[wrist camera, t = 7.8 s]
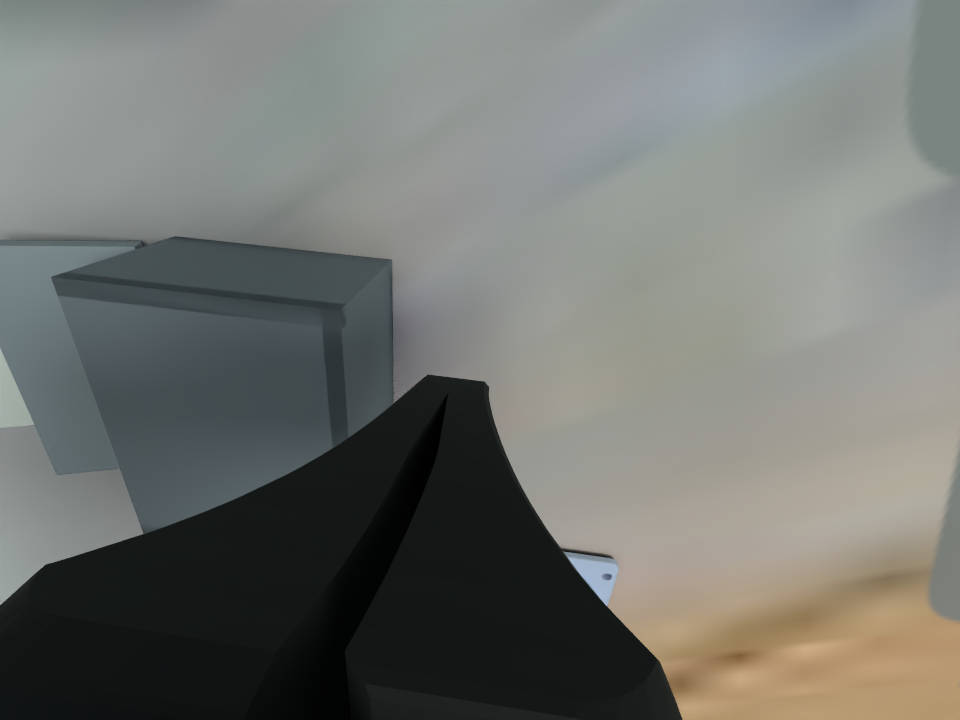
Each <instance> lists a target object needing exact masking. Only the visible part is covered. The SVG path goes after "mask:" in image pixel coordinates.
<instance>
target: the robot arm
mask: <svg viewBox="0 0 960 720" xmlns="http://www.w3.org/2000/svg"><path fill="white" fill-rule="evenodd" d="M618 571H619V568H618V563H617V562H616V561H615V560H614V559H611V558H605V557H598V556H591V555H584V554H577V553H570V552H563V551H562V549H561V548H560V547H559V545H558V544H557V543H556V541H555V540H554V538H553V537H552V536H551V534H550V533H549V532H548V530H547V529H546V527H545V526H544V524H543V522H542V521H541V519H540V518H539V516H538V515H537V513H536V511H535V510H534V508H533V507H532V505H531V503H530V501H529V500H528V498H527V496H526V494H525V493H524V491H523V489H522V487H521V485H520V483H519V481H518V479H517V477H516V475H515V473H514V471H513V469H512V467H511V465H510V462H509V460H508V458H507V456H506V453H505V451H504V448H503V446H502V443H501V440H500V437H499V435H498V432H497V429H496V426H495V423H494V419H493V416H492V411H491V407H490V402H489V386H488V385H487V384H486V383H485V382H483V381H475V380H467V379H459V378H450V377H442V376H434V375H427V376H426V377H424V378H423V379H422V380H421V381H419V382H418V383H417V384H416V385H415V386H414V387H412V388H411V389H410V390H409V391H408V392H407V393H406V394H404V395H403V396H402V397H401V398H400V399H398V400H397V401H396V402H395V403H394V404H393V405H391V406H390V407H389V408H387V409H386V410H385V411H384V412H382V413H381V414H380V415H379V416H377V417H376V418H375V419H374V420H372V421H371V422H370V423H368V424H367V425H366V426H364V427H363V428H361V429H360V430H359V431H357V432H356V433H354V434H353V435H352V436H350V437H349V438H347V439H346V440H344V441H343V442H342V443H340V444H339V445H337V446H336V447H334V448H332V449H331V450H329V451H327V452H326V453H324V454H323V455H321V456H319V457H317V458H316V459H314V460H312V461H310V462H309V463H307V464H305V465H303V466H301V467H300V468H298V469H296V470H294V471H292V472H290V473H289V474H287V475H284V476H282V477H280V478H278V479H276V480H274V481H272V482H270V483H268V484H266V485H264V486H261V487H259V488H257V489H255V490H253V491H251V492H249V493H247V494H245V495H243V496H240V497H238V498H236V499H234V500H231V501H229V502H227V503H224V504H222V505H219V506H217V507H215V508H212V509H210V510H207V511H205V512H202V513H200V514H197V515H195V516H192V517H189V518H187V519H184V520H181V521H179V522H176V523H173V524H171V525H168V526H165V527H163V528H160V529H157V530H154V531H151V532H148V533H146V534H143V535H140V536H137V537H133V538H130V539H127V540H124V541H121V542H118V543H115V544H111V545H108V546H105V547H102V548H99V549H96V550H93V551H90V552H86V553H83V554H80V555H77V556H74V557H71V558H67V559H64V560H61V561H57V562H54V563H50V564H47V565H45V566H44V567H43V568H41V569H40V570H39V571H38V572H37V573H36V574H34V575H33V576H32V577H31V578H30V579H29V580H28V581H27V582H26V583H24V584H23V585H22V586H21V587H20V588H19V589H18V590H17V591H16V592H15V593H13V594H12V595H11V596H10V597H9V598H8V599H7V600H6V601H5V602H3V603H2V604H1V605H0V720H682V717H681V714H680V712H679V709H678V706H677V703H676V701H675V698H674V696H673V693H672V691H671V688H670V686H669V683H668V681H667V678H666V676H665V673H664V671H663V668H662V666H661V664H660V662H659V661H658V659H657V658H656V657H655V656H654V655H653V654H652V653H651V652H650V651H649V650H648V649H647V648H646V647H645V646H644V645H643V644H642V643H641V642H640V641H639V640H638V639H637V638H636V636H635V635H634V634H633V633H632V632H631V631H630V630H629V629H628V628H627V627H626V626H625V625H624V624H623V623H622V622H621V621H620V620H619V619H618V618H617V617H616V616H615V615H614V614H613V613H612V611H611V610H610V609H609V608H608V607H607V605H608V602H609V599H610V596H611V593H612V590H613V587H614V584H615V581H616V577H617V574H618ZM607 573H608V574H607Z"/></svg>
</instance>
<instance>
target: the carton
mask: <svg viewBox="0 0 960 720" xmlns="http://www.w3.org/2000/svg"><path fill="white" fill-rule="evenodd" d="M51 279H52V282H53V285H54V287H55V290H56V293H57V296H58V299H59V301H60V304H61V307H62V310H63V312H64V315H65V318H66V321H67V323H68V326H69V329H70V332H71V334H72V337H73V340H74V343H75V345H76V348H77V351H78V354H79V356H80V359H81V362H82V365H83V368H84V370H85V373H86V376H87V379H88V381H89V384H90V387H91V390H92V392H93V395H94V398H95V401H96V403H97V406H98V409H99V412H100V414H101V417H102V420H103V423H104V425H105V428H106V431H107V434H108V437H109V439H110V442H111V445H112V448H113V450H114V453H115V456H116V459H117V461H118V464H119V467H120V470H121V472H122V475H123V478H124V481H125V483H126V486H127V489H128V492H129V494H130V497H131V500H132V503H133V505H134V508H135V511H136V514H137V517H138V519H139V522H140V525H141V528H142V530H143V533H144V534H146V533H148V532H151V531H154V530H157V529H160V528H163V527H165V526H168V525H171V524H173V523H176V522H179V521H181V520H184V519H187V518H189V517H192V516H195V515H197V514H200V513H202V512H205V511H207V510H210V509H212V508H215V507H217V506H219V505H222V504H224V503H227V502H229V501H231V500H234V499H236V498H238V497H240V496H243V495H245V494H247V493H249V492H251V491H253V490H255V489H257V488H259V487H261V486H264V485H266V484H268V483H270V482H272V481H274V480H276V479H278V478H280V477H282V476H284V475H287V474H289V473H290V472H292V471H294V470H296V469H298V468H300V467H301V466H303V465H305V464H307V463H309V462H310V461H312V460H314V459H316V458H317V457H319V456H321V455H323V454H324V453H326V452H327V451H329V450H331V449H332V448H334V447H336V446H337V445H339V444H340V443H342V442H343V441H344V440H346V439H347V438H349V437H350V436H352V435H353V434H354V433H356V432H357V431H359V430H360V429H361V428H363V427H364V426H366V425H367V424H368V423H370V422H371V421H372V420H374V419H375V418H376V417H377V416H379V415H380V414H381V413H382V412H384V411H385V410H386V409H387V408H389V407H390V406H391V405H393V315H392V260H388V259H378V258H369V257H360V256H351V255H341V254H332V253H323V252H314V251H304V250H295V249H286V248H277V247H267V246H258V245H249V244H240V243H230V242H221V241H212V240H203V239H193V238H184V237H172V238H169V239H166V240H163V241H160V242H157V243H154V244H151V245H147V246H144V247H141V248H138V249H135V250H132V251H129V252H126V253H123V254H120V255H117V256H114V257H111V258H107V259H104V260H101V261H98V262H95V263H92V264H89V265H86V266H83V267H80V268H77V269H74V270H70V271H67V272H64V273H61V274H58V275H55V276H52V277H51Z"/></svg>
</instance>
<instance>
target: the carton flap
mask: <svg viewBox="0 0 960 720" xmlns="http://www.w3.org/2000/svg"><path fill="white" fill-rule="evenodd" d="M141 247H143V245H142V241H42V240H0V428H5V427H18V426H31V425H35V427H36V429H37V431H38V434H39V436H40V438H41V440H42V443H43V445H44V447H45V449H46V452H47V454H48V456H49V458H50V460H51V463H52V465H53V467H54V469H55V472H56V474H57V475H61V474H71V473H81V472H91V471H100V470H110V469H120V467H119V464H118V461H117V459H116V456H115V453H114V450H113V448H112V445H111V442H110V439H109V437H108V434H107V431H106V428H105V425H104V423H103V420H102V417H101V414H100V412H99V409H98V406H97V403H96V401H95V398H94V395H93V392H92V390H91V387H90V384H89V381H88V379H87V376H86V373H85V370H84V368H83V365H82V362H81V359H80V356H79V354H78V351H77V348H76V345H75V343H74V340H73V337H72V334H71V332H70V329H69V326H68V323H67V321H66V318H65V315H64V312H63V310H62V307H61V304H60V301H59V299H58V296H57V293H56V290H55V287H54V285H53V282H52V279H51V277H52V276H55V275H58V274H61V273H64V272H67V271H70V270H74V269H77V268H80V267H83V266H86V265H89V264H92V263H95V262H98V261H101V260H104V259H107V258H111V257H114V256H117V255H120V254H123V253H126V252H129V251H132V250H135V249H138V248H141Z"/></svg>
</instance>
